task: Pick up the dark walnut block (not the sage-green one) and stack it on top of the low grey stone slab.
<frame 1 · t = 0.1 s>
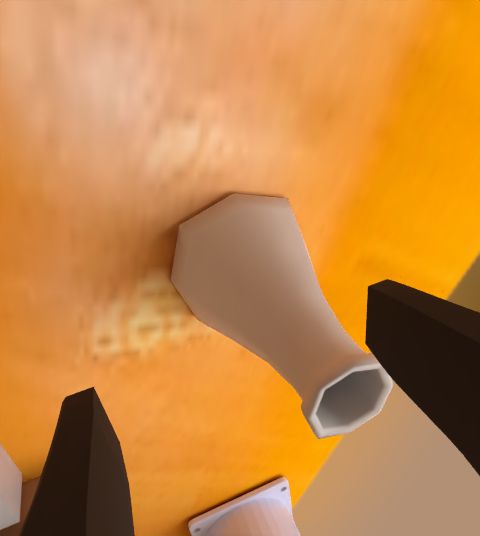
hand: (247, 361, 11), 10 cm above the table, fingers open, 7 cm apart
flask: (237, 256, 22), on the table
walnut block: (61, 494, 25), on the table
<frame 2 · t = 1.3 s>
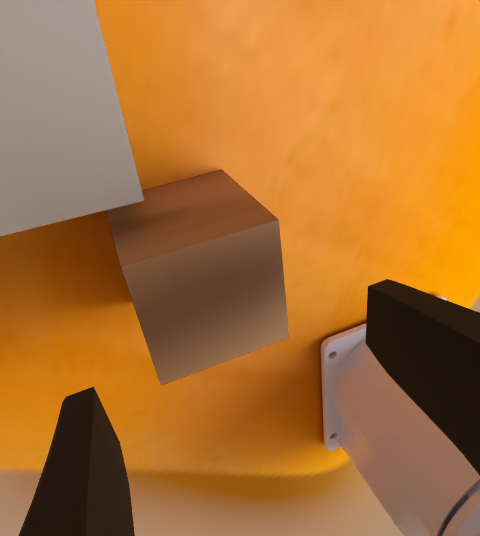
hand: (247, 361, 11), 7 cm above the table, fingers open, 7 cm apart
stone slab: (4, 98, 13), on the table
walnut block: (176, 237, 17), on the table
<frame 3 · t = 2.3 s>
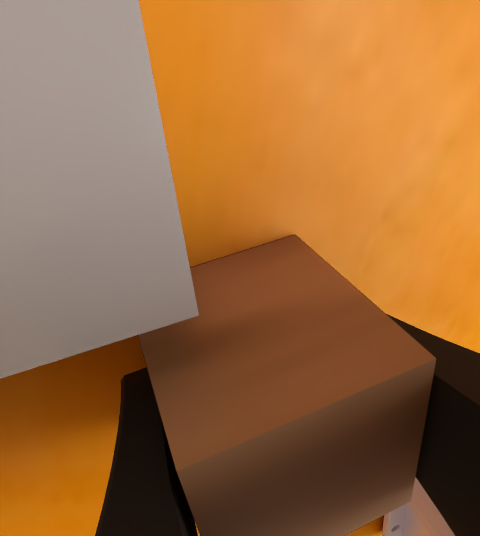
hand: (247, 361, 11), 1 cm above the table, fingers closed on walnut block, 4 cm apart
walnut block: (227, 328, 12), on the table, touching gripper
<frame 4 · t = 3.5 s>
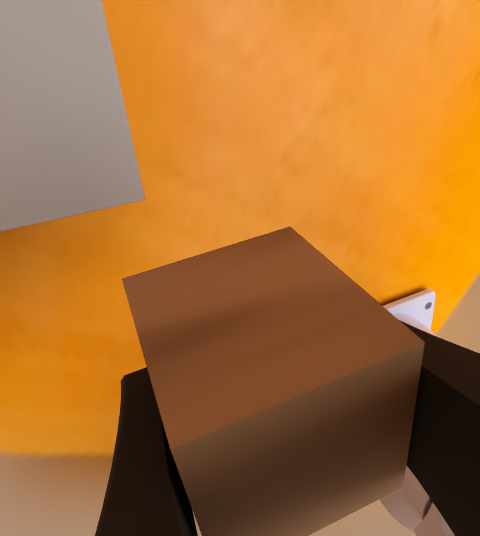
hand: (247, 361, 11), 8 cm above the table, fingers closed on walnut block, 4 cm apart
stone slab: (17, 101, 14), on the table
walnut block: (223, 319, 12), point 7 cm above the table, touching gripper
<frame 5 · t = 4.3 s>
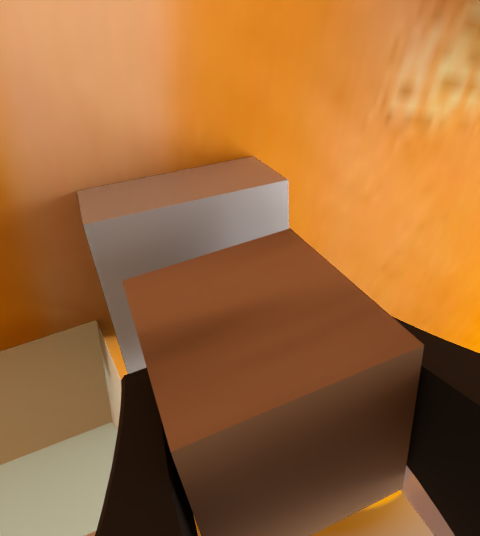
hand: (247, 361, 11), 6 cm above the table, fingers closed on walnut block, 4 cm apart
sage block: (56, 382, 16), on the table
stone slab: (181, 247, 16), on the table
walnut block: (223, 320, 12), point 5 cm above the table, touching gripper
when the fingers open (5 cm above the table, at t = 4.9 s): walnut block drops 1 cm, point 3 cm above the table.
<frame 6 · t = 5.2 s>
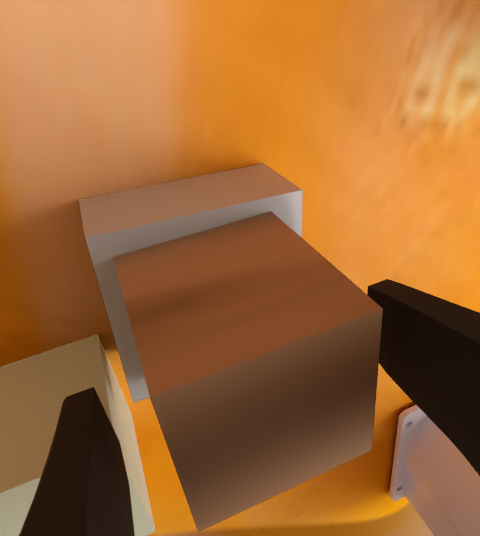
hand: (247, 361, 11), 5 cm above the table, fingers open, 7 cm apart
sage block: (55, 398, 16), on the table
stone slab: (186, 257, 15), on the table
walnut block: (209, 298, 13), point 3 cm above the table
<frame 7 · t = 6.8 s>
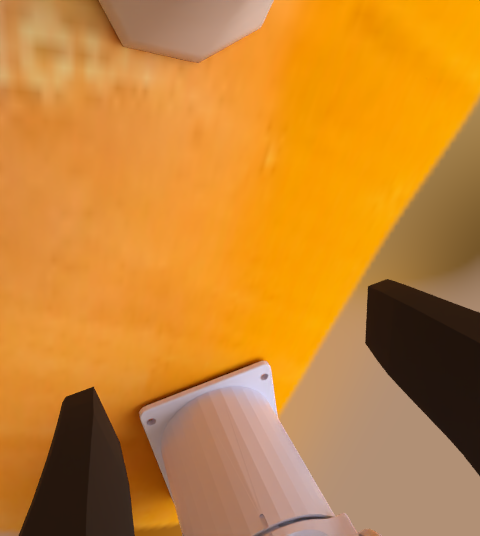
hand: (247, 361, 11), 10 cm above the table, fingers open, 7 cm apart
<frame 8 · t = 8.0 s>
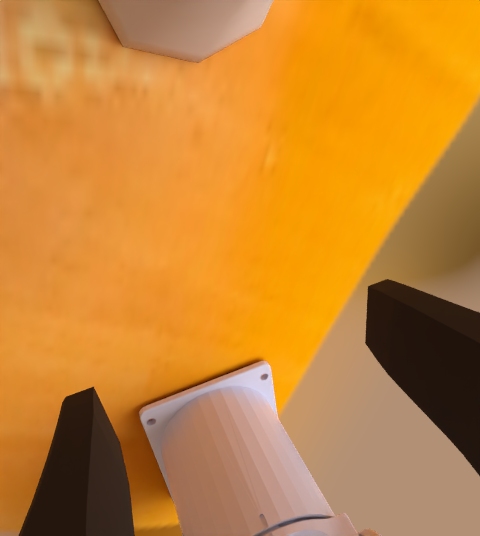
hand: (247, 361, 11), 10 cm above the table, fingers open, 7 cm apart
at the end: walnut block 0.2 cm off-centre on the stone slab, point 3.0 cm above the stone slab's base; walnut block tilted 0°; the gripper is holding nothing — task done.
